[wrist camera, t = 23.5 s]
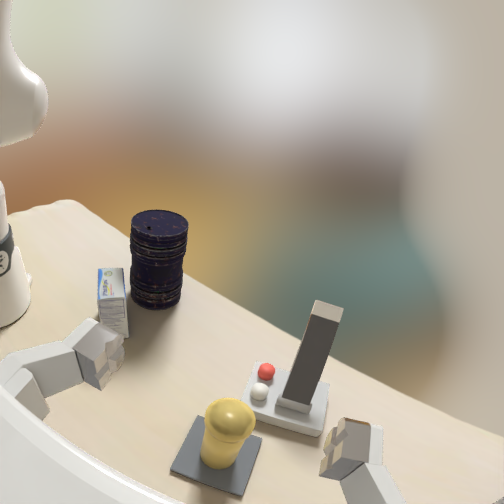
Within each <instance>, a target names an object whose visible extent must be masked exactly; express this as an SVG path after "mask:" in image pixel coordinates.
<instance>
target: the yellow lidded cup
mask: <svg viewBox="0 0 504 504" xmlns="http://www.w3.org/2000/svg"><path fill="white" fill-rule="evenodd" d="M204 423H205V427H206V428H205V432H204V437H203V441H202V446H201V450H200V456H201V459H202V461H203V462H204V463H205V464H206V465H207V466H208V467H210V468H213V469H218V470H220V469H226V468H228V467H230V466H231V465H232V464H233V463H234V461H235V459H236V457H237V455H238V453H239V451H240V449H241V447H242V445H243V443H244V441H245V440H246V439H247V438H248V437H249V436H250V435H251V433H252V431H253V429H254V427H255V423H256V419H255V415H254V412H253V411H252V409H251V408H250V407H249V406H248V405H247V404H245V403H244V402H242V401H240V400H237V399H233V398H222V399H218V400H216V401H214V402H213V403H211V404H210V405H209V406H208V408H207V410H206V414H205V418H204Z"/></svg>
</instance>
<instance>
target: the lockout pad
mask: <svg viewBox="0 0 504 504" xmlns="http://www.w3.org/2000/svg"><path fill="white" fill-rule="evenodd" d="M205 428H206V427H205V423H204V417H201V416H199V415H198V416H197V418H196V419H195V421H194V423H193V425H192V427H191V429H190V431H189V433H188V435H187V437H186V439H185V441H184V443H183V445H182V447H181V449H180V451H179V452H178V454H177V456H176V458H175V460H174V462H173V464H172V466H171V468H170V470H171V471H174V472H176V473H178V474H181V475H183V476H185V477H188V478H190V479H193V480H195V481H198V482H201V483H203V484H206V485H209V486H211V487H214V488H217V489H220V490H223V491H226V492H229V493H232V494H235V495H238V496H241V497H242V495H243V493H244V490H245V487H246V484H247V482H248V479H249V476H250V473H251V470H252V467H253V464H254V461H255V459H256V456H257V453H258V450H259V447H260V444H261V441H262V438H260V437H257V436H253V435H250V436H249V437H248V438H247V439H246V440H245V441H244V443H243V445H242V447H241V449H240V451H239V453H238V455H237V457H236V459H235V461H234V463H233V464H232V465H231V466H230V467H228V468H226V469H220V470H218V469H213V468H210V467H208V466H207V465H206V464H205V463H204V462H203V461H202V459H201V456H200V450H201V446H202V441H203V437H204V432H205Z"/></svg>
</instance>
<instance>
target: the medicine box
mask: <svg viewBox="0 0 504 504" xmlns="http://www.w3.org/2000/svg"><path fill="white" fill-rule="evenodd" d="M97 303H98V311H99V318H100V323H101V324H103V325H105V326H107V327H108V328H110V329H112V330H114V331H116V332H118V333H120V334H121V335H123V338H129V332H128V320H127V307H126V294H125V284H124V273H123V268H103V269H98V300H97Z"/></svg>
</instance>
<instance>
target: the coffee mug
mask: <svg viewBox="0 0 504 504" xmlns="http://www.w3.org/2000/svg"><path fill="white" fill-rule="evenodd" d="M493 504H504V497H503V498H501V499H500V500H498V501H496V502H495V503H493Z"/></svg>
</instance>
